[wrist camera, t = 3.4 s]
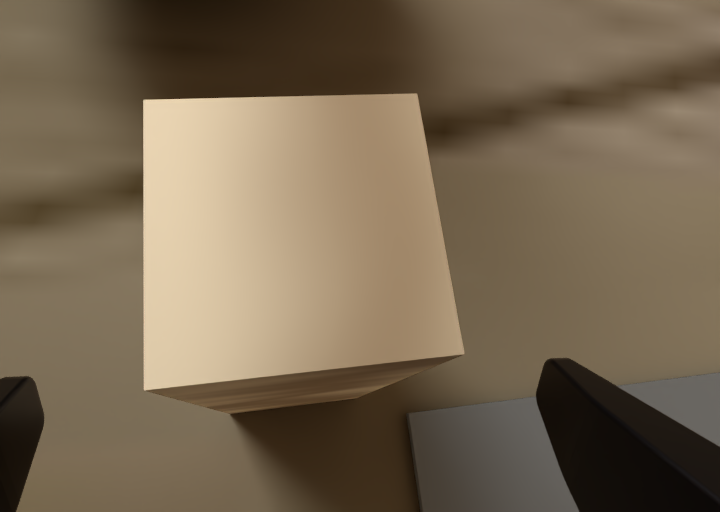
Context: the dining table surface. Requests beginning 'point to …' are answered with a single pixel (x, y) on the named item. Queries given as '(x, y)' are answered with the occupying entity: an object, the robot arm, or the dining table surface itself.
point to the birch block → (290, 250)
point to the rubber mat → (526, 448)
